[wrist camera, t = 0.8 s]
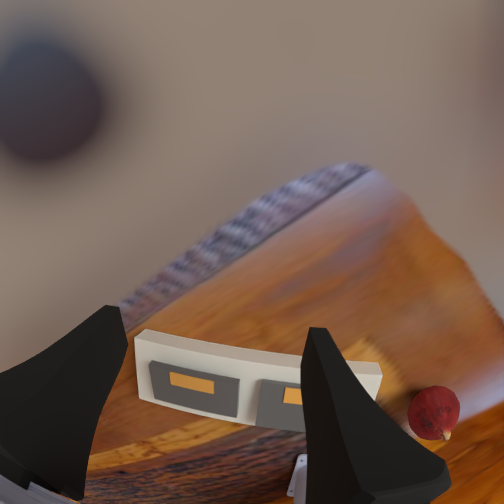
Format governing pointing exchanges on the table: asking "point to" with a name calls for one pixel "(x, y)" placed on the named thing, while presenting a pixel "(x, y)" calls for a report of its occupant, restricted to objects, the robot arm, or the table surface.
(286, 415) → the rocker
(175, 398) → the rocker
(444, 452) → the table surface
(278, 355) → the rocker switch panel
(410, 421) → the onion
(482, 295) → the table surface
